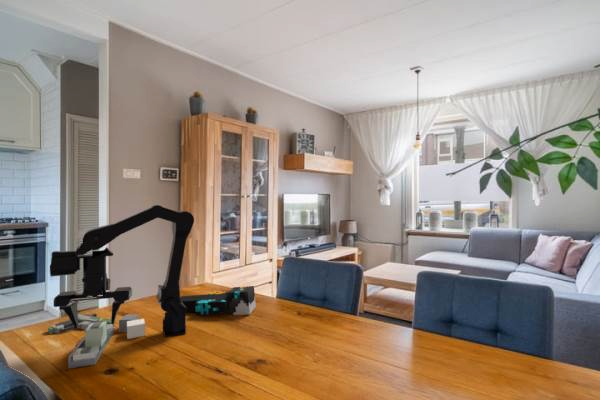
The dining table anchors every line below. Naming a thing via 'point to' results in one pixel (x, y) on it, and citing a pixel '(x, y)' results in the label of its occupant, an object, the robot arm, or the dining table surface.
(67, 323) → the futuristic handgun
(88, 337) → the module
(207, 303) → the toy
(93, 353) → the rail
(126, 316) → the white block
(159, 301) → the robot arm
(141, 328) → the block
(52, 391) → the dining table surface
